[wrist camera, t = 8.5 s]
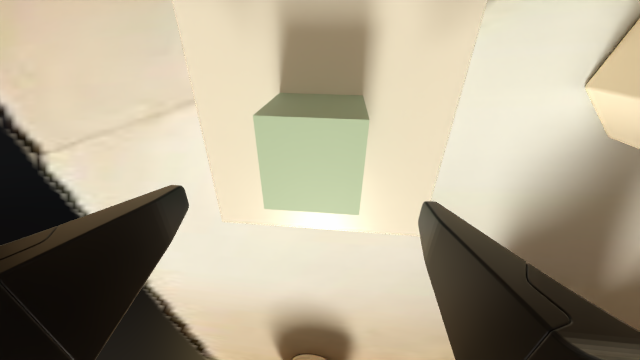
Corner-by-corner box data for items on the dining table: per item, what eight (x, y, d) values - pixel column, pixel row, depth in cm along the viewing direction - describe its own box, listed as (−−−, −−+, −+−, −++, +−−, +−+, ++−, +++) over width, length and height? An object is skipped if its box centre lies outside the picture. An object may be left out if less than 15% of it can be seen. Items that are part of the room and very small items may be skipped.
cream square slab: (411, 213, 22) (420, 236, 20) (236, 201, 23) (222, 221, 21) (467, -14, 14) (494, -24, 12) (196, -15, 15) (166, -25, 13)
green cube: (356, 170, 17) (358, 215, 13) (284, 166, 18) (264, 208, 13) (363, 95, 15) (369, 119, 10) (279, 92, 15) (252, 115, 11)
